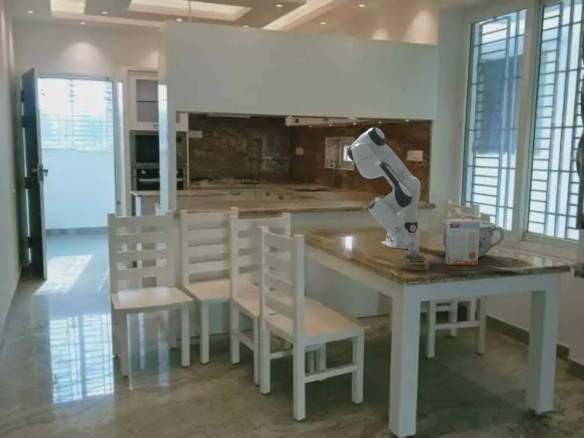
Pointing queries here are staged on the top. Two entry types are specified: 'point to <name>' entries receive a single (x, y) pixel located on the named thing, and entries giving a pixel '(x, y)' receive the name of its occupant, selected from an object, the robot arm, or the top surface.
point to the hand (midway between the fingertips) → (415, 247)
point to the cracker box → (462, 242)
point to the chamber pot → (484, 234)
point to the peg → (413, 252)
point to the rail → (415, 262)
